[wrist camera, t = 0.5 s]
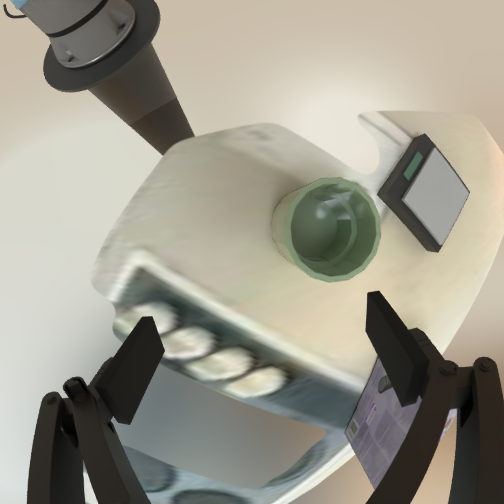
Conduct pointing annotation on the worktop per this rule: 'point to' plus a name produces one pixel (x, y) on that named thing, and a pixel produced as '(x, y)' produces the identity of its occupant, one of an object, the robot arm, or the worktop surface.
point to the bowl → (327, 229)
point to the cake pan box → (381, 425)
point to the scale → (425, 193)
